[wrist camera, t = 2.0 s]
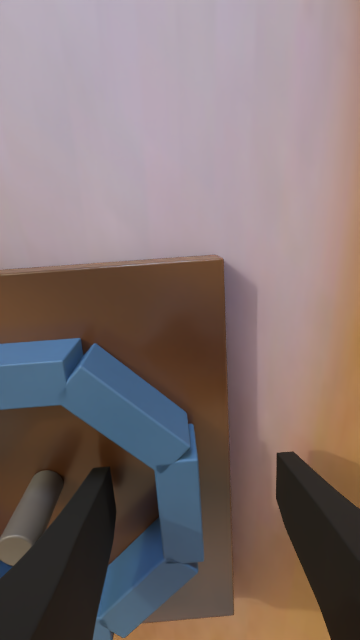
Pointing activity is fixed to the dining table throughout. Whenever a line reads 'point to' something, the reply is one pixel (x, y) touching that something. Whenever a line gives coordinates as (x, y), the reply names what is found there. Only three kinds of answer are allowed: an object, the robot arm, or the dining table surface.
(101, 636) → the ring
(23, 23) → the dining table surface
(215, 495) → the platform
